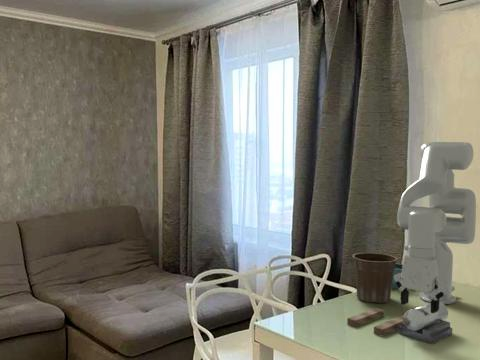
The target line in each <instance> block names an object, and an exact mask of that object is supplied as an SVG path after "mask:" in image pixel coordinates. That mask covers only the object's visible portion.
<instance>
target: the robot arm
mask: <svg viewBox="0 0 480 360" xmlns="http://www.w3.org/2000/svg"><path fill="white" fill-rule="evenodd" d="M474 154H475V153H474V147H473V145H472V144H471V143H470V142H469V141H468V142H467V141H465V142H464V141H431V142H425V143H424V144H422V145H421V147H420V155H421V164H420V169H419V175H418V180H416V181H415V182H413V183H412V184H411V185H409V186H408V188H407V187H406V190H405V191H404V192H403V193H402V195H401V197H400V200H399V205H398V209H397V214H396V221H397V225H398V226H399V228H401V229H403V230H407V231H408V233H407V245H404V250H405V251H407V253H406V254H405V255H404V258H403V261H402V264H403V266H402V273H399V274H396V275H394V279H395V281H396V285H397V286H398V288H399V289H398V290H399V292H400V305H402V306H403V305H407V304H408V303H410V302H409V297H410V291H409V290H413V291H417V292H421V293H420V294H419V299H421V300H422V301H425V302H428V303H429V304H430V303H431V313H435V312H437V311H438V310H439V302H441V303H443V304H444V305H451V304H454V303H456V300H457V299H456V297H455V296H454V295H452V292H454V291H455V290H456V287H455V286H454V285H453V267H454V265H453V264H454V254H453V251H452V249H451V248H450V246H449V245H448V244H447V243H449V244H451V243H452V244H462V245H470V244H473V242H474V241H475V236H476V224H477V223H476V215H477V200H476V199H477V198H476V194H475V192H474V191H473V190H472V189H470V188H459V187H458V188H457V187H455V173H454V171H455V170H456V171H465V170H467V169H468V168H469V167H470V166H471V164H472V163H473V161H474ZM453 170H454V171H453ZM425 197H428V207H427V206H417V205H415V206H413V205H412V204H413V203H414V202H416V201H418V200H420V199H422V198H425ZM446 214H449V215H450V214H451V215H452V214H453V215H460V216H461V217H458V216H457V217H454V216H447V215H446ZM400 277H401V280H400Z"/></svg>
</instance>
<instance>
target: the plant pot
mask: <svg viewBox="0 0 480 360" xmlns="http://www.w3.org/2000/svg"><path fill="white" fill-rule="evenodd" d="M352 258H353V262H354V263H353V264H354V268H355V284H356V285H355V286H356V297H357V299H358V300H360V301H362V302H366V303H374V302H375V303H376V304H384V303H385V304H386V303H389V302H390V301H391V296H392V294H391V293H392V289H393V288H392V280H393V273H394V270H395V264H397V262H398V257H396V256H394V255H391V254H387V253H386V254H385V253H379V252H359V253H354V254H352Z"/></svg>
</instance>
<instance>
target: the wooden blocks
mask: <svg viewBox="0 0 480 360" xmlns="http://www.w3.org/2000/svg"><path fill="white" fill-rule="evenodd" d="M384 314H385V310H383V309H380V308H378V307H375V308H372V309H369V310H367V311H364V312H361V313H358V314H355V315H352V316H350V317H347V320H346V321H347V322H346V323H347V325H348V326H351V327H354V328H355V327H359V326H361V325H364V324H366V323H370V322H372V321H374V320H377V319H379V318H382V317H384V316H385V315H384ZM403 316H404V315H400V316H398V317H395V318H393V319H390V320H387V321H386V322H383V323H380V324H378V325H375V326H373V334H375V335H378V336H382V337H383V336H385V335H388V334H390V333H393V332H396V331H397V330H398V331H399V327H400V326H401V323H402V322H404V321H403Z"/></svg>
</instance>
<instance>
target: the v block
mask: <svg viewBox="0 0 480 360" xmlns="http://www.w3.org/2000/svg"><path fill="white" fill-rule="evenodd" d="M398 334H401V335H403V336H406V337H409V338H411V339H412V338H413V339H416V340H419V341H422V342H425V343H428V344H430V345H434V344H436V343H438V342H439V341H441V340H444V339H446V338H447V337H450V336H452V335H453V327H451V322H450V321H447V320H442V321H440V322H438V323H435V324H432V325H430V326H427V327H424V328H422V329H419V330H416V331H413V330H410V329H408V328H407V327H406V325H405V324H404V322H402V323H401V326H400V327H399V329H398Z"/></svg>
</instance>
